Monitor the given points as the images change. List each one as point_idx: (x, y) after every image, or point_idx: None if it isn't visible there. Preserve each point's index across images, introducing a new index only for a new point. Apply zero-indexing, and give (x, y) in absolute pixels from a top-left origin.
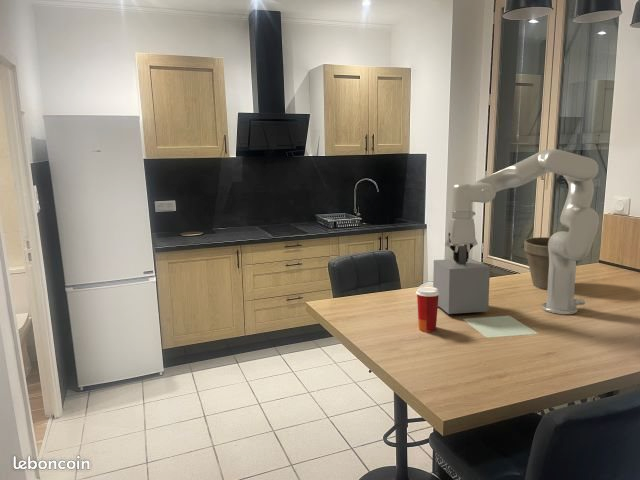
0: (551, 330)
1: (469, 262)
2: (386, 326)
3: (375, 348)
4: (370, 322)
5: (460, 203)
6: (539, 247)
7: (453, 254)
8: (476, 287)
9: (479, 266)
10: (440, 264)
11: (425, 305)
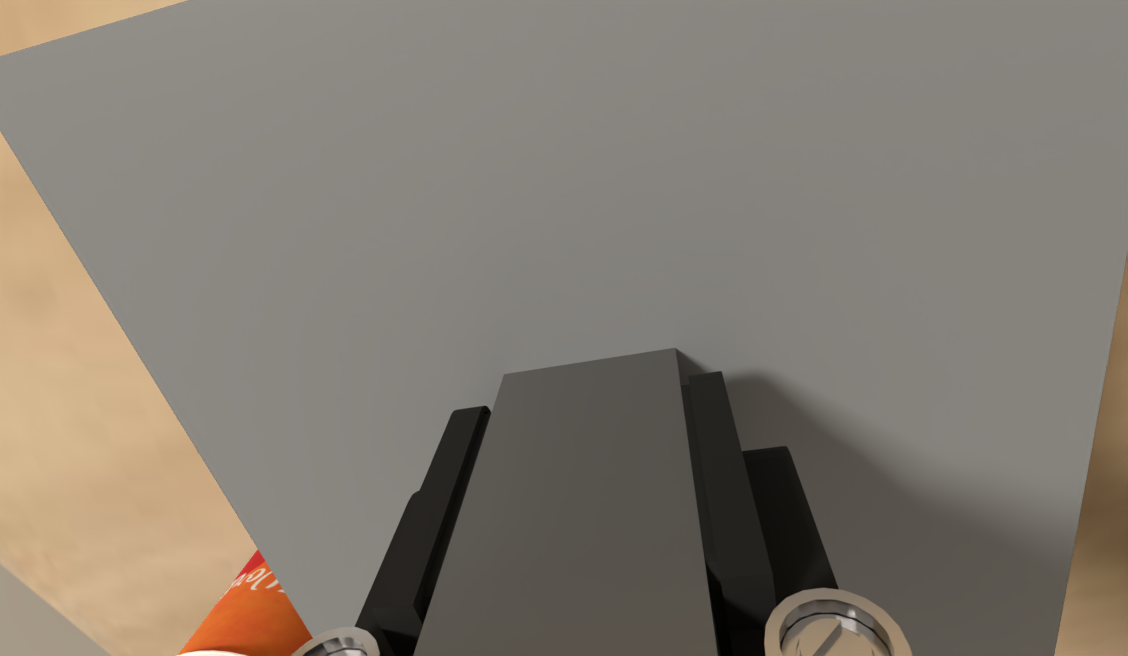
0: (1083, 538)
1: (831, 369)
2: (130, 454)
3: (160, 653)
4: (18, 396)
5: None
6: None
7: (379, 584)
8: None
9: None
10: (204, 443)
11: None
